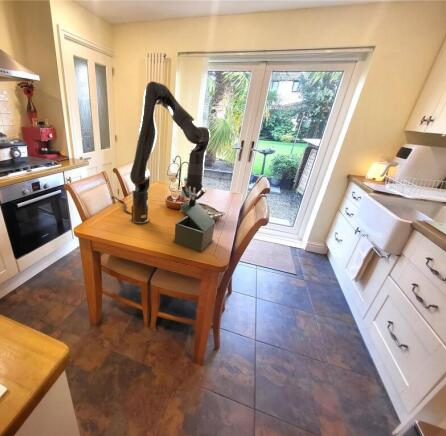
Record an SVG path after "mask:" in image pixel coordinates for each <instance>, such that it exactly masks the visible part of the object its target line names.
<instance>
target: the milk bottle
mask: <svg viewBox="0 0 446 436" xmlns="http://www.w3.org/2000/svg"><path fill="white" fill-rule="evenodd" d="M186 183H187V176H184V178H183V183H182V185H181V188H180V194H179V195H180V197H179V200H180V199H181V200H189V201H190V199H189V198H188V197H186V195H185V193H184V192H183V190H182V187H183V186H185V185H186Z"/></svg>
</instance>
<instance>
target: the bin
mask: <svg viewBox="0 0 446 436" xmlns="http://www.w3.org/2000/svg"><path fill="white" fill-rule="evenodd" d="M215 224H216V222H214V223H213V224H212V225H211V226H210V227H209V228H207V229H206V230H205V231H204V232H202V231H201V230H200V229H199V227H198V226H197V225H196V224H195V223H194V222H193V221H192V220H191V219H190V218H189V217H188V216H187V215H186V216H184V217H183V218H182V219H180V220H179V221H177V222H176V223H175V226H174V240H173V242H174V243H176V244H179V245H180V246H181V245H182V246H184V247H187V248H189V249H192V250H195V251H198V252H200V253H202V252H203V250H205V249H206V248H207V247H208V245H210V243H212V242H213V237H214V231H215Z"/></svg>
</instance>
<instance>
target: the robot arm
mask: <svg viewBox="0 0 446 436" xmlns="http://www.w3.org/2000/svg"><path fill="white" fill-rule="evenodd" d="M157 106H161V107H163V108H165V109H166V110H167V111H168V112H169V114H170V116H171V119H172V121H173V122H174V124H175V125H176V126H177V127H178V128H179V129H180V130H181V131H182V132H183V135H184V136H185V138H186V140H187V141H188V142H189V143H190V144H192V145H194V147H193V148H192V149H190V151H189V156H188V164H187V169H186V171H187V174H186V177H187V183H186V185H185V186H183V187H182V186H181V188H182V190H183V192H184V193H185V195H186V197H188V198H189V199H190V201H189V205H190V206H191V207H194V206H195V205H196V202H197V200H198V201H199V199H201V198H202V197H203V196H204V195H205V194H206V193H207V190H205V189H204V187H203V180H204V172H205V159H206V158H205V157H206V152H207V149H208V146H209V144H210V140H211V132H210V130H209V128H208V127H206V126H196V120H195V118H194V117H193V116H192V115H191V114H190V113H189V112H188V111H187V110H186V109H185V108H183V106H182V105H181V104H180V103H179V101H178V100H177V99H176V98H175V97H174V95H173V93H172V92H171V90H170V89H169V88H168V86H167V85H165V84H163V83H160V82H157V81H149V82H148V83H147V85H145V89H144V95H143V104H142V115H141V122H140V127H139V130H138V131H139V132H138V135H137V136H138V137H137V142H136V147H135V148H136V149H135V155H134V158H133V159H134V160H133V164H132V166H131V170H130V172H129V178H130V181H131V183H132V184H133V185H134V186H133V188H132V205H131V206H130V207H131V208H130V209H131V212H130V211H128V210H126V207H127V206H126V202H125V201H123V200H121V199H119V198H117V197H116V196H112V199H115V200H116V201H119V202H121V203H122V204H123V207H124V208H123V211H124V212H125V213H127V214H129V215H131V220H132V222H133V223H134V224H141V225H142V224H146V223H148V222H149V190H150V181H151V174H150V170H149V169H148V168H147V167H148V162H149V159H150V157H151V155H152V153H153V150H154V148H155V145H156V141H157V136H158V129H157V125H156V120H155V112H156V107H157Z"/></svg>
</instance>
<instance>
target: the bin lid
mask: <svg viewBox="0 0 446 436" xmlns="http://www.w3.org/2000/svg"><path fill="white" fill-rule="evenodd" d="M198 203H199V202H198V201H196V205H195V206H194V207H191V206H190V205H189V201H188V202H187V203H185V204H183V205H181V204H180V206H179V208H180V210H181V209H182V210H183V211H184V212H185V213H184V214H185V215H186V214H187V215H188V217H189V218H190V219H191V220H192V221H193V222H194V223H195V224H196V225H197V226H198V227H199V229H200V230H201V231H202V232H204V231H205V230H206V229H207V228H209V227H210V226H211V225H212V224H213V223H216V220H213V219H212V218H211V217H210V215H209V214H208V213H207V212H206V211H205V210H204V209H203V208H202V207H201V206H200V205H199V204H198ZM187 215H186V216H187Z"/></svg>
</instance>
